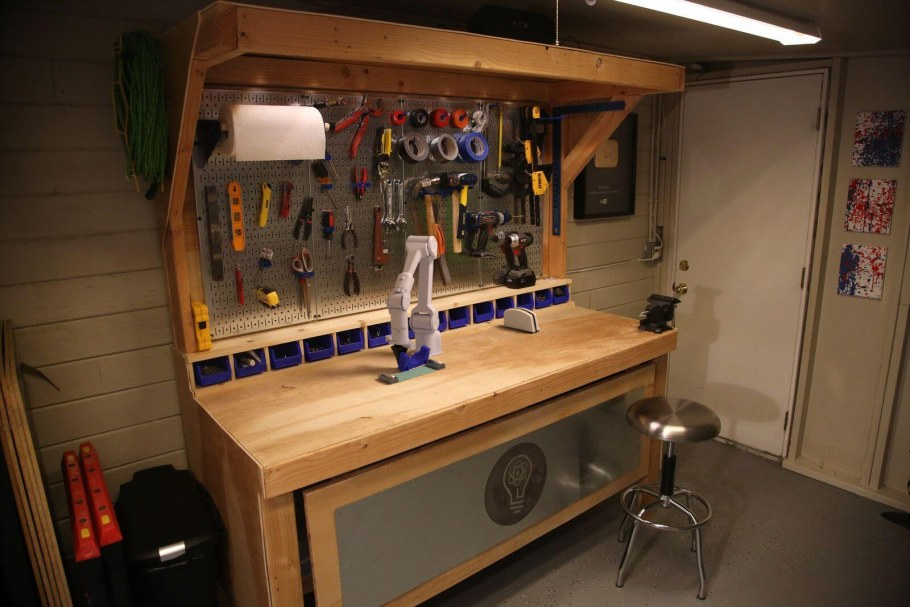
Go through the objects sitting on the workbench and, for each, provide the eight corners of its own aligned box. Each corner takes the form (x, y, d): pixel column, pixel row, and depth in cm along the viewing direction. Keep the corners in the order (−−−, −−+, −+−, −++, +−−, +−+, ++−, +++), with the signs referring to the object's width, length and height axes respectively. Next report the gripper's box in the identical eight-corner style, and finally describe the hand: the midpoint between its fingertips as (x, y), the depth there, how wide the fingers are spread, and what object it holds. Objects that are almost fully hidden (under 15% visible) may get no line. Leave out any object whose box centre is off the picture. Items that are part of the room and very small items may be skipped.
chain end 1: (385, 377, 203) (385, 370, 202) (398, 382, 198) (398, 375, 197) (378, 379, 201) (378, 372, 200) (390, 384, 196) (390, 377, 195)
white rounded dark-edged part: (541, 332, 254) (539, 309, 251) (533, 335, 251) (532, 312, 248) (510, 325, 266) (508, 303, 263) (503, 329, 263) (501, 306, 260)
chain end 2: (432, 363, 216) (431, 357, 215) (445, 368, 211) (444, 361, 210) (425, 365, 214) (425, 359, 213) (438, 370, 209) (438, 363, 208)
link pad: (424, 366, 213) (424, 365, 213) (437, 370, 208) (437, 370, 208) (387, 376, 203) (387, 376, 203) (399, 381, 198) (399, 381, 198)
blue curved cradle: (418, 358, 219) (421, 343, 217) (427, 363, 216) (430, 348, 214) (394, 366, 210) (397, 351, 208) (403, 372, 208) (406, 356, 205)
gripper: (377, 325, 210) (379, 362, 214) (402, 334, 200) (404, 373, 203) (394, 321, 215) (396, 358, 218) (419, 329, 204) (421, 368, 207)
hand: (401, 365), depth 211 cm, fingers closed, pressing on blue curved cradle
